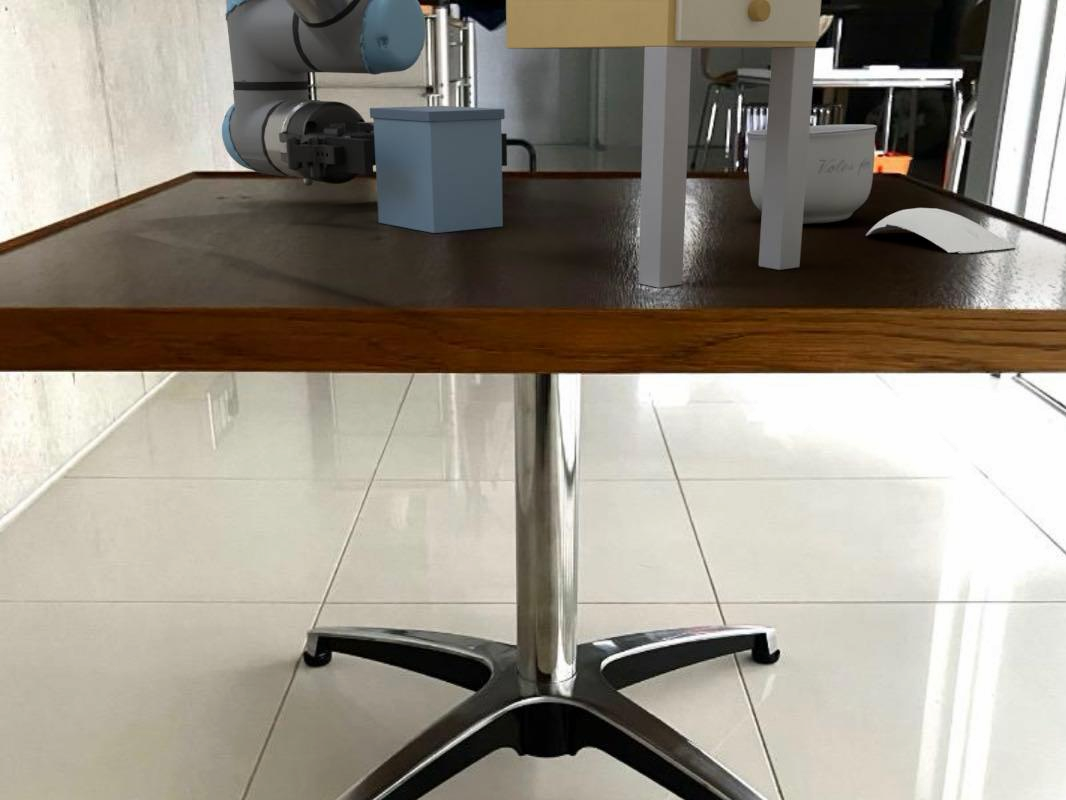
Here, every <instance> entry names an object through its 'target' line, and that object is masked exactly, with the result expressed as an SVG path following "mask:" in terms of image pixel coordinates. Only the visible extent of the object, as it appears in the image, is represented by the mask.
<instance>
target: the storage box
mask: <svg viewBox="0 0 1066 800" xmlns="http://www.w3.org/2000/svg"><path fill="white" fill-rule="evenodd" d="M505 114H506V113H505V108H496V107H495V108H492V107H475V106H473V107H472V106H453V105H427V106H426V105H425V106H423V105H422V106H393V107H392V106H391V107H390V106H389V107H388V106H387V107H369V118H370V119H373V123H374V140H375V159H376V165H375V176H376V178H375V179H376V196H377V197H376V198H377V215H378V223H379V224H384V225H387V226H393V227H394V226H395V227H400V228H404V229H410V230H414V231H420V232H425V233H431V234H442V233H453V232H461V231H471V230H482V229H491V228H493V229H494V228H500V227H501V228H502V227H503V226H504V220H503V219H504V216H503V215H504V212H503V211H504V210H503V166H502V136H501V133H502V120H505V117H506V116H505Z"/></svg>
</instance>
